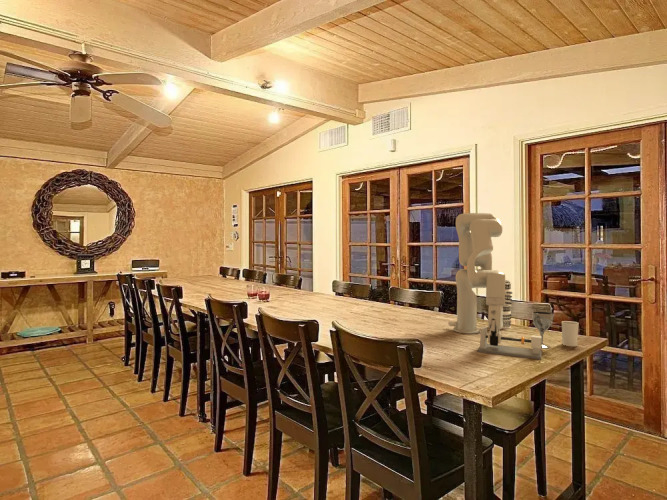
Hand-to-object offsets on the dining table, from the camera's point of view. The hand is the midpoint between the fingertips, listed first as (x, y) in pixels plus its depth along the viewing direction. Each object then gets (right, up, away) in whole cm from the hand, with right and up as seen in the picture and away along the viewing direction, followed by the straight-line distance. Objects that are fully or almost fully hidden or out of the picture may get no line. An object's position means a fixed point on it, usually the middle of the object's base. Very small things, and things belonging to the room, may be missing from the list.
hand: (494, 343), depth 185 cm
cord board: (+5, -3, -3) cm, 7 cm away
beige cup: (+37, -3, +10) cm, 39 cm away
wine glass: (+23, -3, +7) cm, 25 cm away
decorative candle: (+22, -1, +47) cm, 52 cm away
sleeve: (0, +1, 0) cm, 1 cm away
